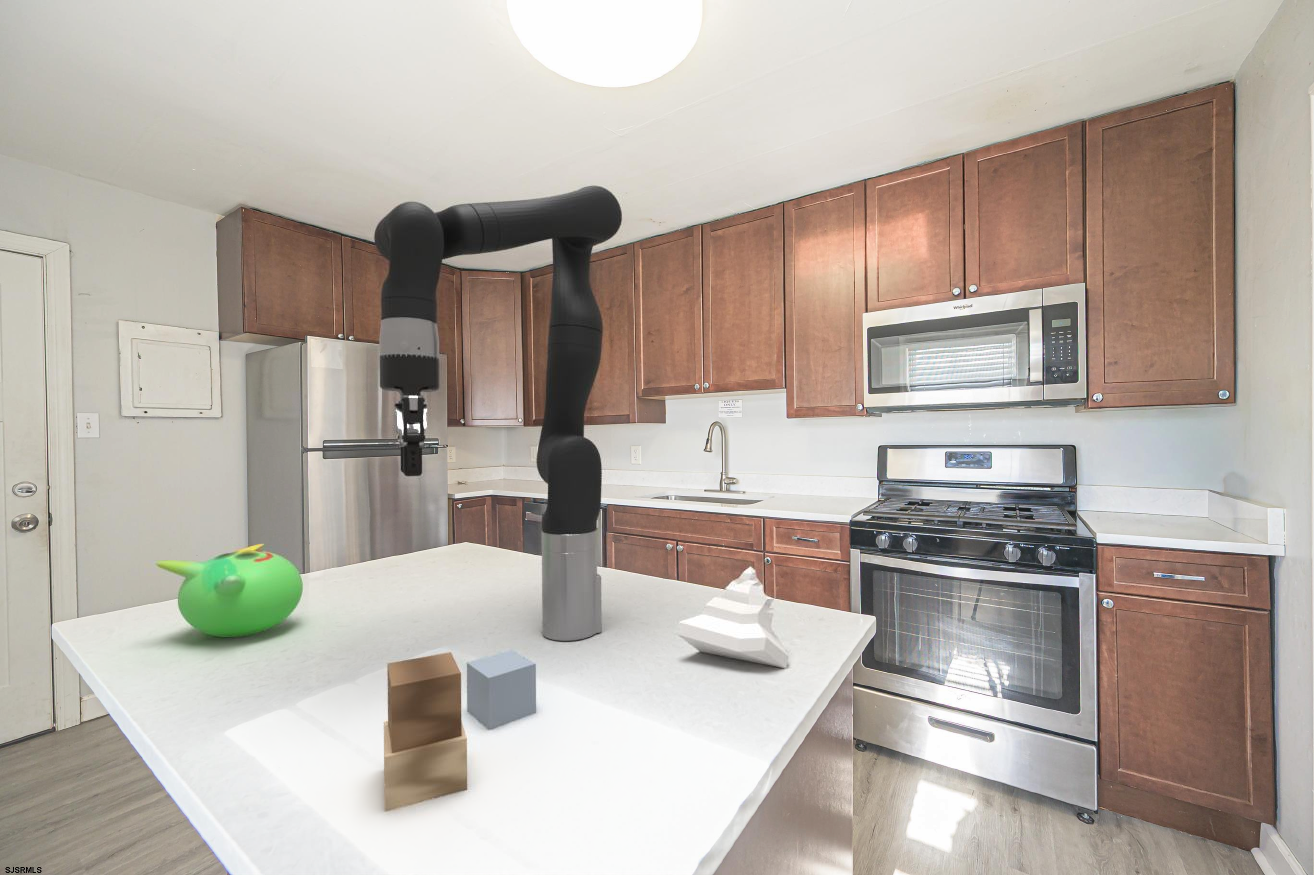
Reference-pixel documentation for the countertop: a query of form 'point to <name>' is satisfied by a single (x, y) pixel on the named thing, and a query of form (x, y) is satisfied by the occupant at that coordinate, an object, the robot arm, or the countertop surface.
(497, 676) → the slate block
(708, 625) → the white seashell
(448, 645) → the countertop surface
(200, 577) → the toy bird
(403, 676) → the walnut block
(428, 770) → the oak base block
